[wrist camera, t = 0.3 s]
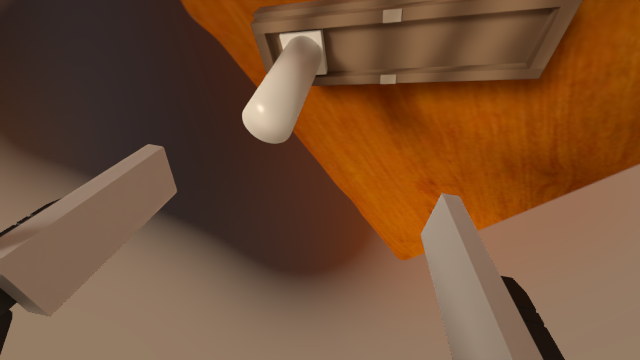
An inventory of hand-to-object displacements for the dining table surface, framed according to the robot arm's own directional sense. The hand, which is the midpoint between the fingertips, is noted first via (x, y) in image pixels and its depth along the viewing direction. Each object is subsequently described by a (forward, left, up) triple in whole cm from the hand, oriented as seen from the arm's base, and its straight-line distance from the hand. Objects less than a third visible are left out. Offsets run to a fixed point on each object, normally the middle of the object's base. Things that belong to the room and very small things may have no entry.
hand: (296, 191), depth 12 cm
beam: (-3, +4, -28) cm, 28 cm away
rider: (+5, -1, -20) cm, 21 cm away
